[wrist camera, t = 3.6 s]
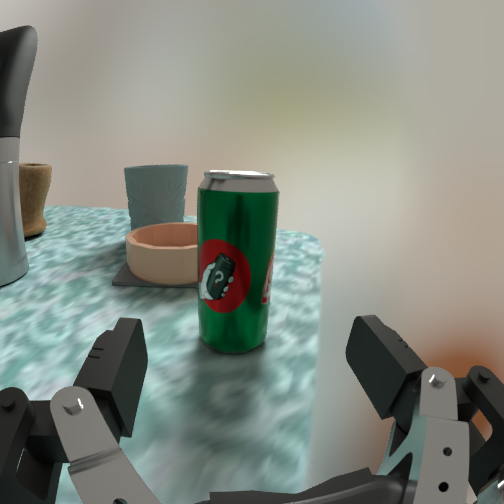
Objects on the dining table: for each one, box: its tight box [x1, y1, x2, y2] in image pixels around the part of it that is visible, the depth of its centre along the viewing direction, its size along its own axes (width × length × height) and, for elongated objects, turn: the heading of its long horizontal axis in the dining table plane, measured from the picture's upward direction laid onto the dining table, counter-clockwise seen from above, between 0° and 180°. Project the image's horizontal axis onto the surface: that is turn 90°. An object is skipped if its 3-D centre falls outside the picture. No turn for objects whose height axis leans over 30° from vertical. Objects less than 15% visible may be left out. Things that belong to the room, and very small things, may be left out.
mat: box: [112, 263, 198, 288], centre depth 33 cm, size 13×11×1 cm
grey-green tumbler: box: [124, 165, 188, 231], centre depth 41 cm, size 10×10×12 cm
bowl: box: [125, 222, 197, 285], centre depth 32 cm, size 12×12×4 cm
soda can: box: [197, 171, 279, 354], centre depth 18 cm, size 5×5×12 cm
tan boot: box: [19, 163, 52, 237], centre depth 41 cm, size 15×12×15 cm
